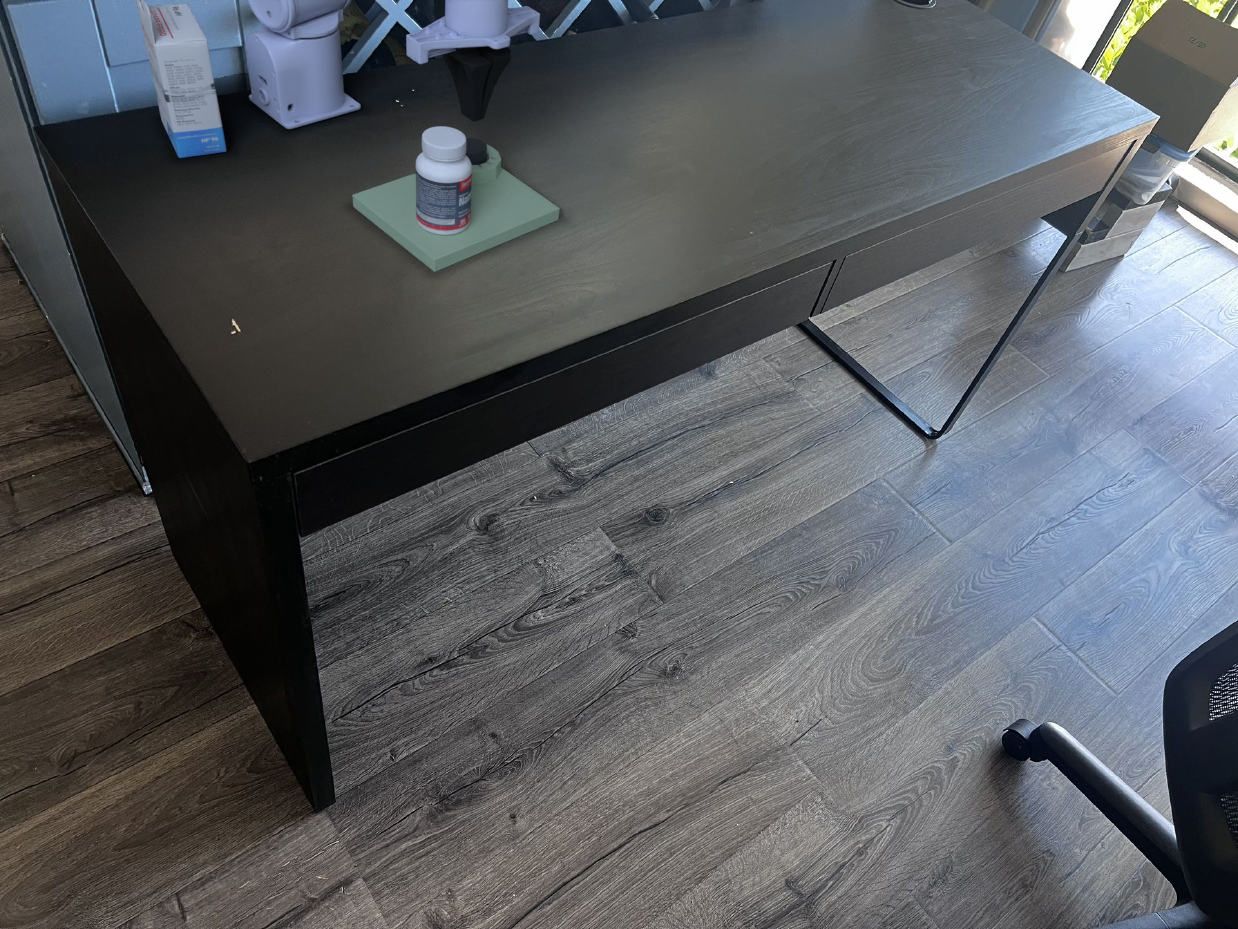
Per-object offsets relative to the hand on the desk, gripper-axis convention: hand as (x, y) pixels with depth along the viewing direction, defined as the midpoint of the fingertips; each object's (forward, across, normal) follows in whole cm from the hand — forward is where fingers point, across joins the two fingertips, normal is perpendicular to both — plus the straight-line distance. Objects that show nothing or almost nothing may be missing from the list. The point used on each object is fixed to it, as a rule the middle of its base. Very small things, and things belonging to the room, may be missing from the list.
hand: (472, 116), depth 95 cm
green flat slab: (+7, -5, -4) cm, 10 cm away
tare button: (+5, 0, 0) cm, 5 cm away
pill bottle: (+6, -8, -6) cm, 12 cm away
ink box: (+8, -19, +22) cm, 30 cm away
